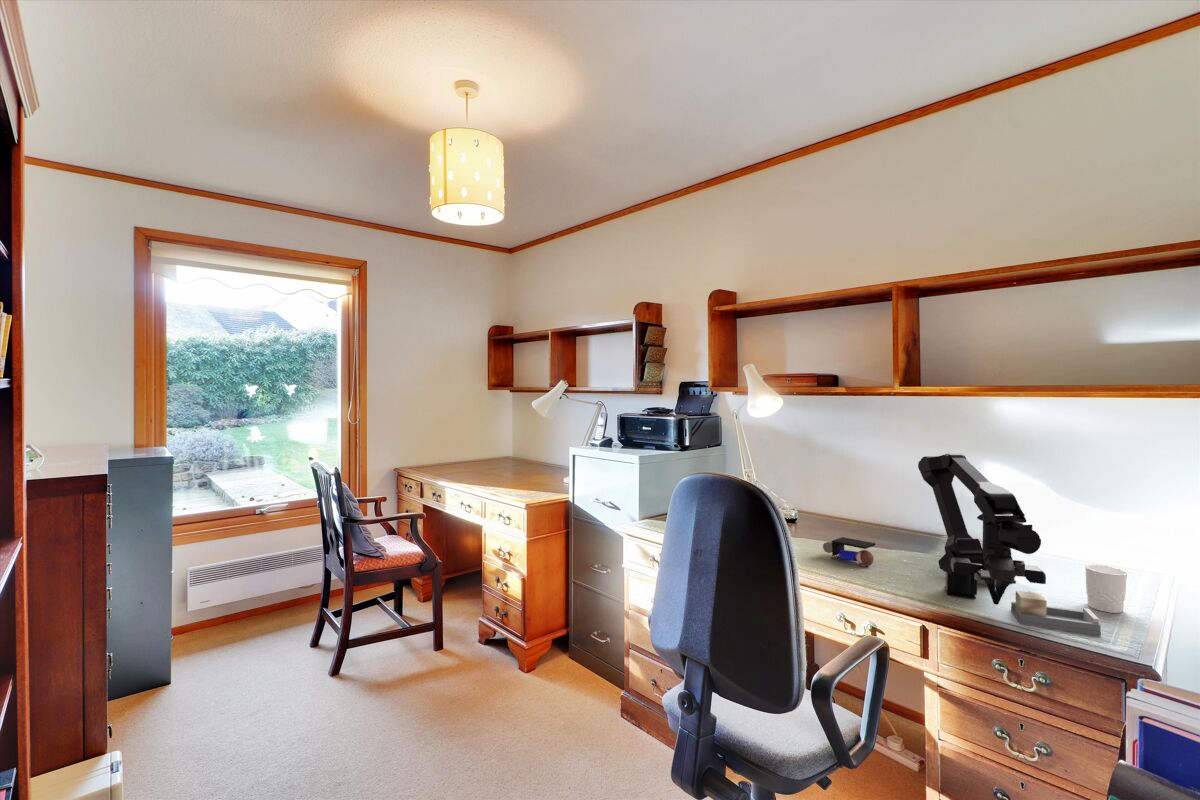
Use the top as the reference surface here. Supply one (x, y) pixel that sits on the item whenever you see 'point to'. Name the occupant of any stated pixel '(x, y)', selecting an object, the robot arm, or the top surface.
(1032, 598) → the birch block
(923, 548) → the top surface
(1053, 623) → the chute
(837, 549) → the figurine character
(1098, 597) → the white cup
